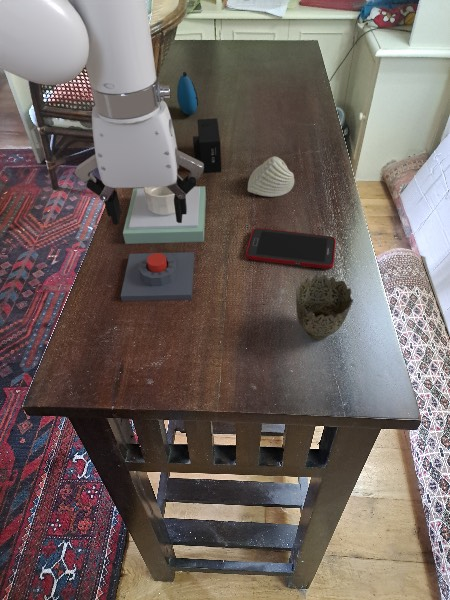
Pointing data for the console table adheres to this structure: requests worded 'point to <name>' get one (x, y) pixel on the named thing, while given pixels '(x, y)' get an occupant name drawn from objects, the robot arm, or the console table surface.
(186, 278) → the pad
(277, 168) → the seashell
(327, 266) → the cell phone
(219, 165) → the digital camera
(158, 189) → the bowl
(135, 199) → the scale
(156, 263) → the button
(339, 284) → the cup
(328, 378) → the console table surface
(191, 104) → the ornament
